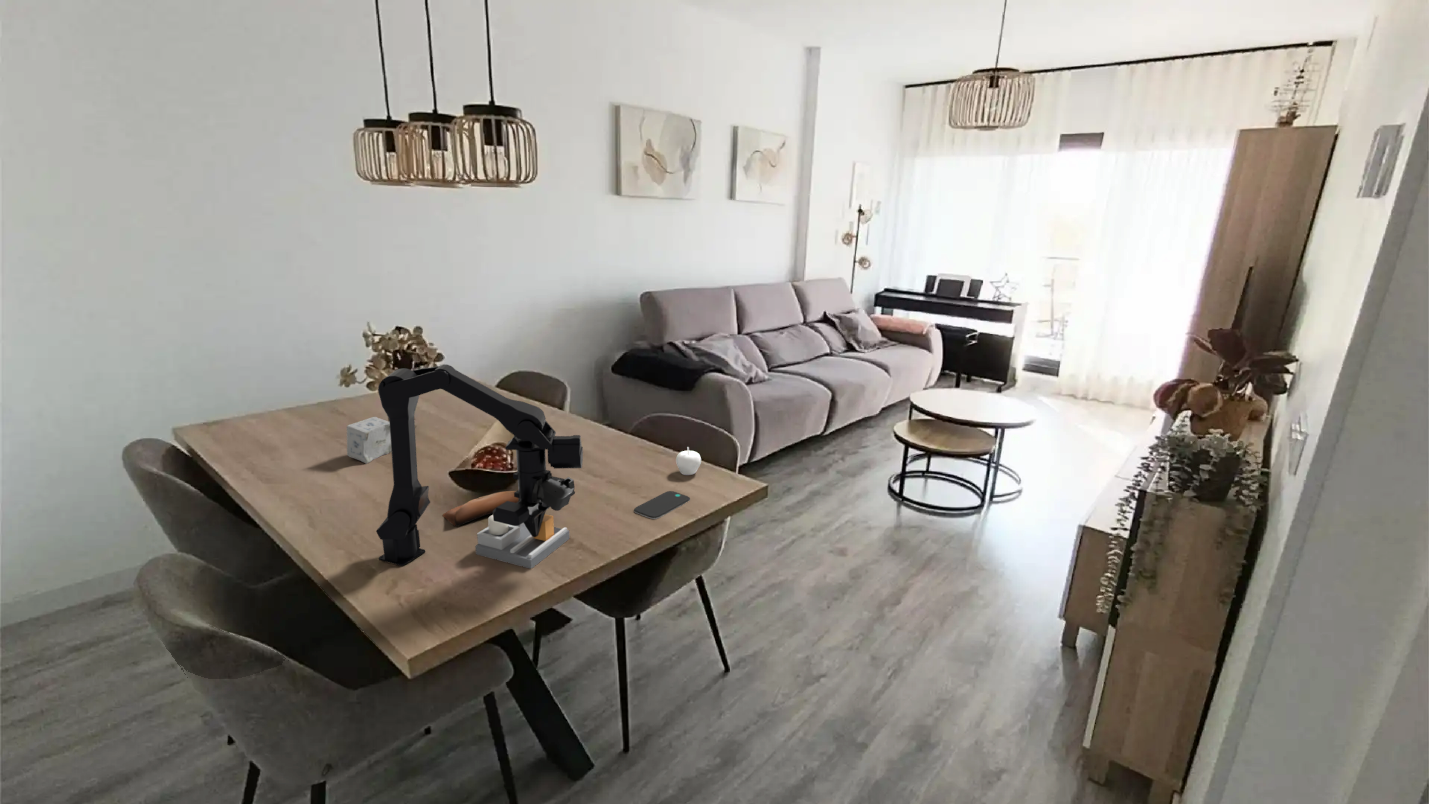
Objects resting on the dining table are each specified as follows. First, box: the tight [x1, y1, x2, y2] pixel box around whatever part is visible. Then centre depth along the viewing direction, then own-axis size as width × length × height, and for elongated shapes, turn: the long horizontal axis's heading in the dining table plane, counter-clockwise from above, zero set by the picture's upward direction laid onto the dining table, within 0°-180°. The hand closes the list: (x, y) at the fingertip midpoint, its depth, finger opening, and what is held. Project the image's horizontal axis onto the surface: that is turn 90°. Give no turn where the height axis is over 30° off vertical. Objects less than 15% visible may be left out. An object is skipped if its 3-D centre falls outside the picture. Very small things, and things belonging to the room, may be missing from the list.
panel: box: [475, 523, 571, 570], centre depth 142 cm, size 14×14×4 cm
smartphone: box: [633, 490, 691, 520], centre depth 165 cm, size 8×1×15 cm
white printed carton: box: [346, 416, 392, 464], centre depth 186 cm, size 10×8×10 cm
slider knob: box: [534, 513, 555, 541], centre depth 142 cm, size 3×3×5 cm
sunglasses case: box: [441, 490, 519, 528], centre depth 158 cm, size 18×7×7 cm
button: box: [487, 514, 509, 535], centre depth 140 cm, size 4×4×3 cm
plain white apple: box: [675, 446, 702, 476], centre depth 184 cm, size 7×7×8 cm
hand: (535, 536), depth 139 cm, fingers closed
